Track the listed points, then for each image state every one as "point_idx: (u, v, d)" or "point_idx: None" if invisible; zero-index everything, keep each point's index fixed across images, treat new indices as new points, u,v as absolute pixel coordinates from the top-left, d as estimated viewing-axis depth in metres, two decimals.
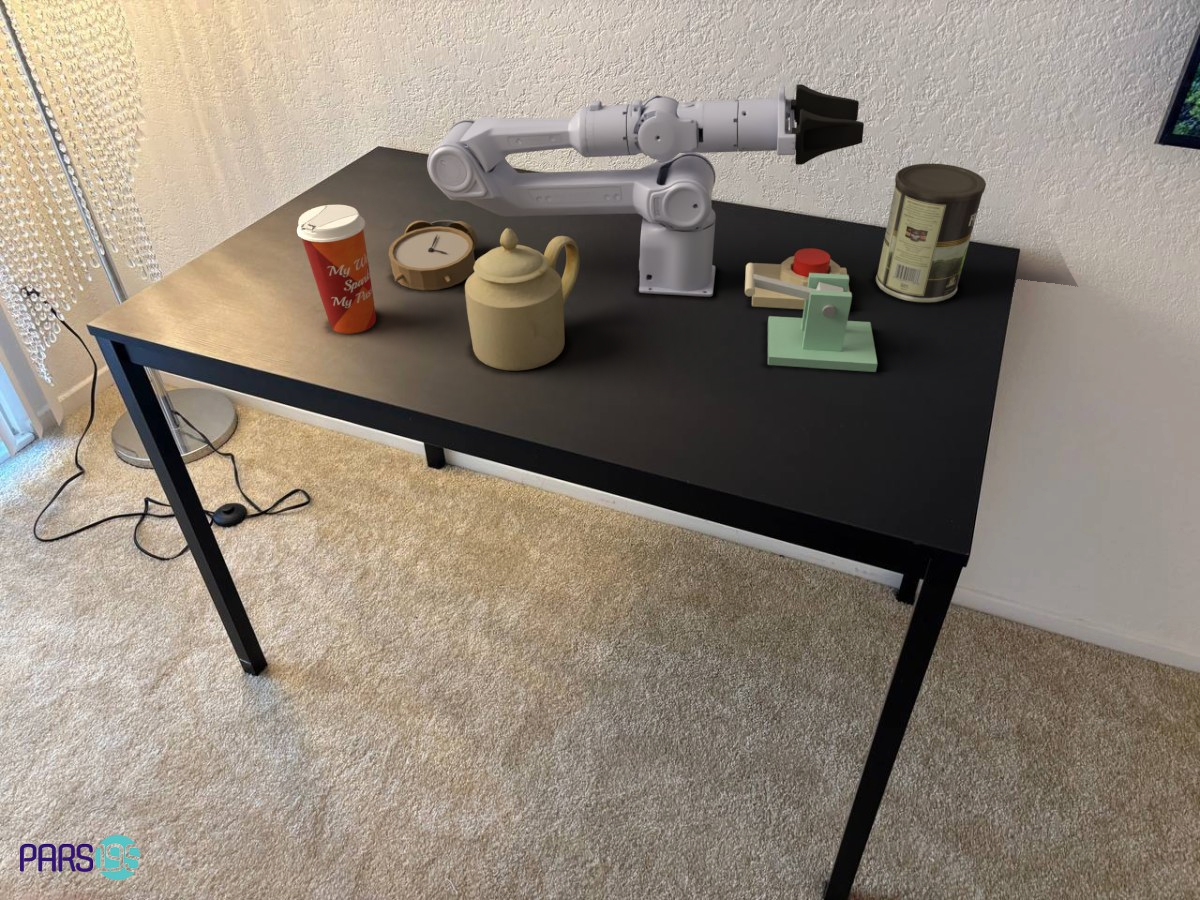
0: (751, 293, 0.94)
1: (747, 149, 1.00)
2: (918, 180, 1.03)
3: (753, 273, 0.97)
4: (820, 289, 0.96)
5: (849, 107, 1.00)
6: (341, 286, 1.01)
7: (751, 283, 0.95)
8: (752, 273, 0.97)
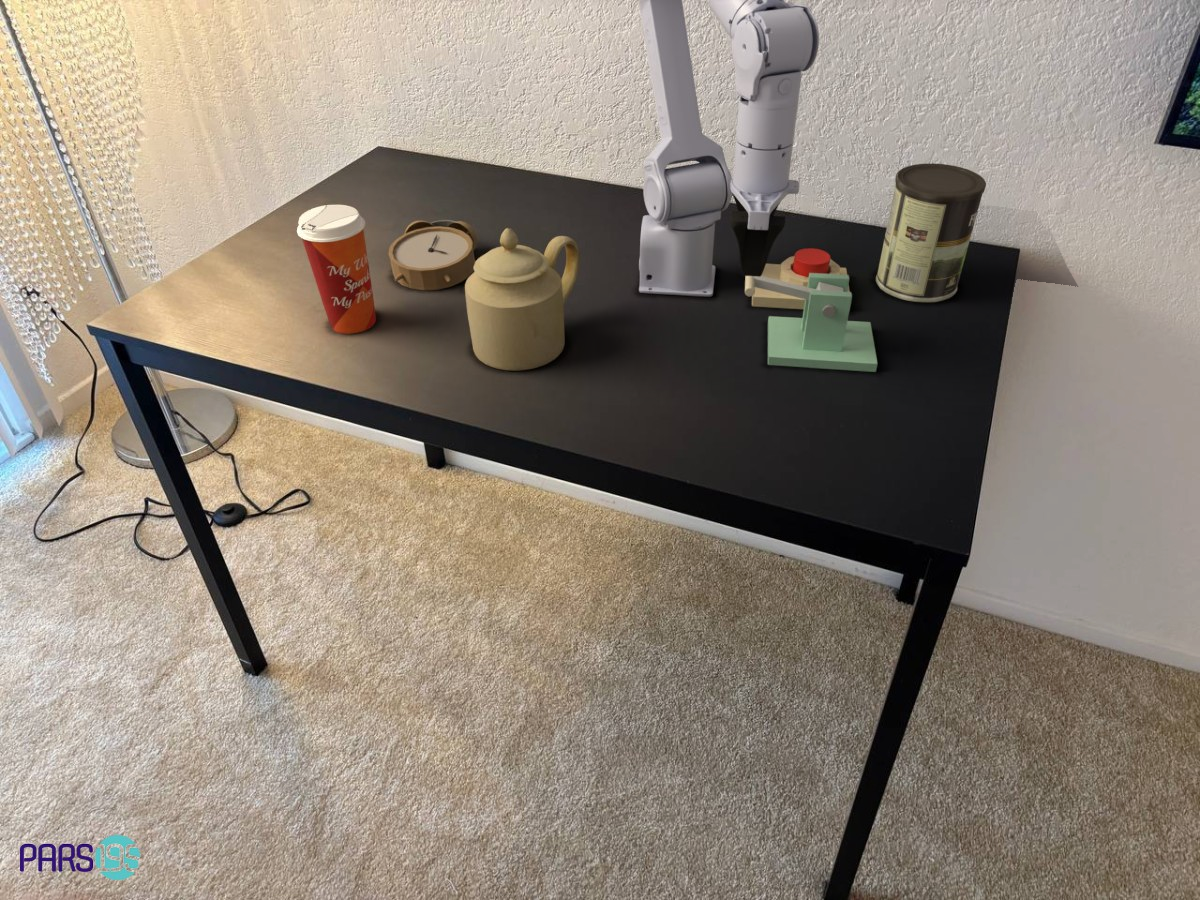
0: (751, 293, 0.94)
1: (741, 156, 0.86)
2: (918, 180, 1.03)
3: None
4: (820, 289, 0.96)
5: None
6: (341, 286, 1.01)
7: (751, 283, 0.95)
8: None
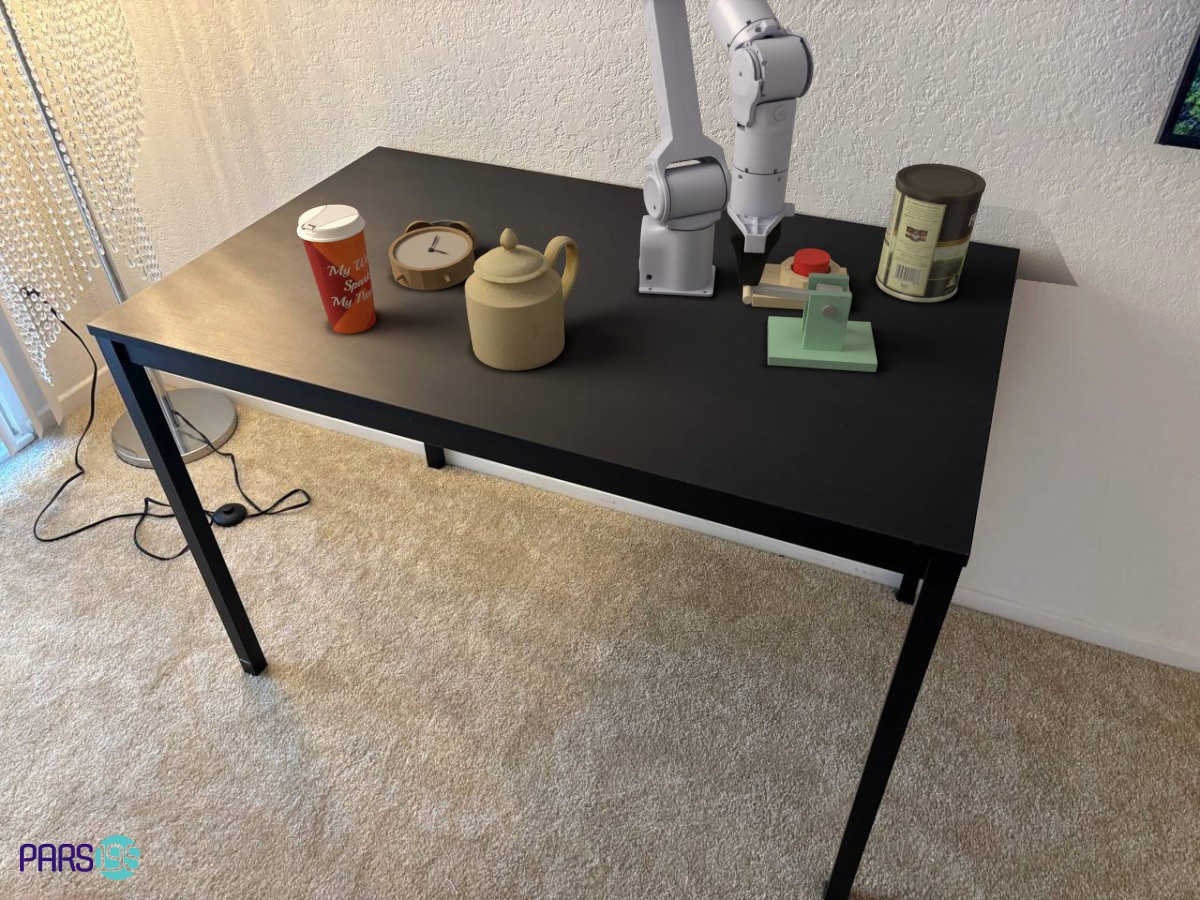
0: (749, 300, 0.95)
1: (738, 180, 0.88)
2: (918, 180, 1.03)
3: None
4: None
5: None
6: (341, 286, 1.01)
7: (748, 291, 0.96)
8: None
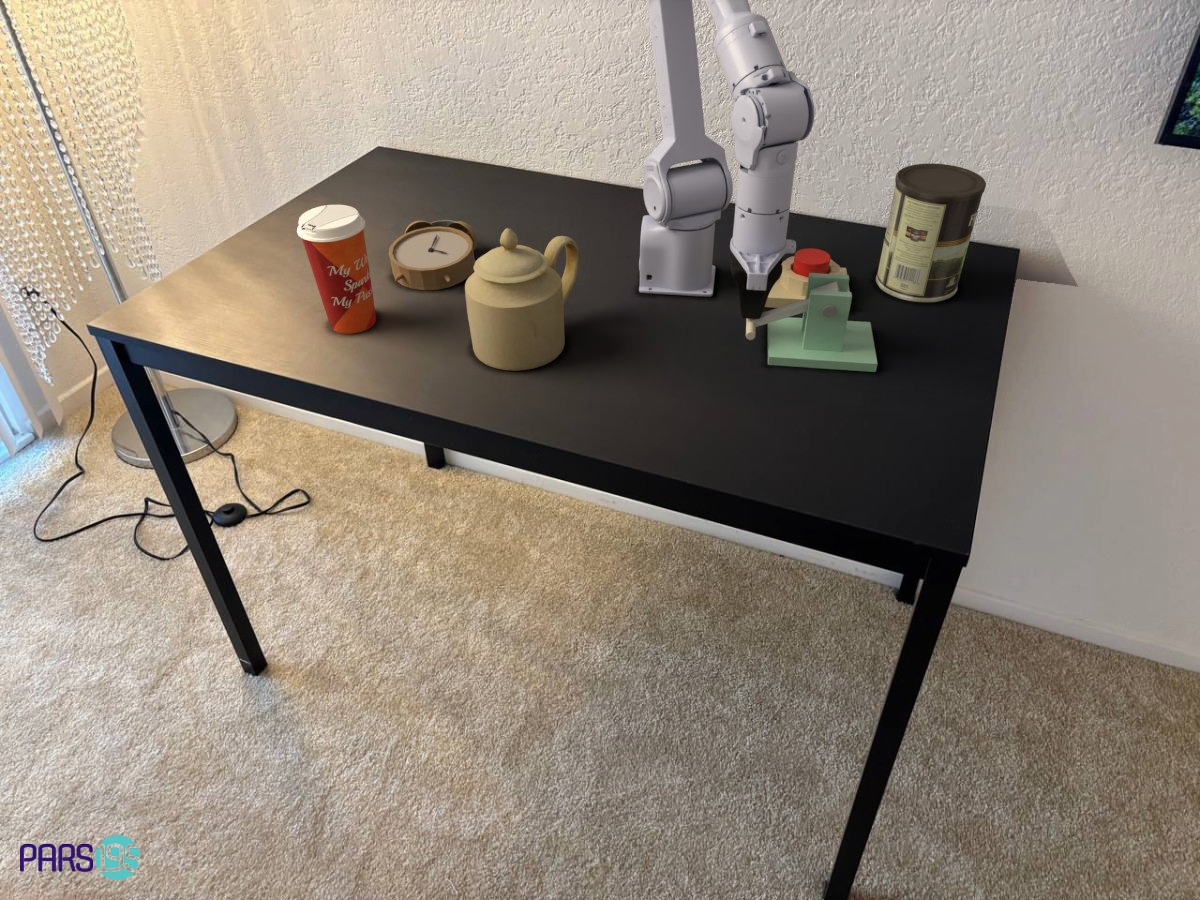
0: (752, 336, 0.98)
1: (741, 219, 0.90)
2: (918, 180, 1.03)
3: None
4: None
5: None
6: (341, 286, 1.01)
7: (749, 327, 0.98)
8: None
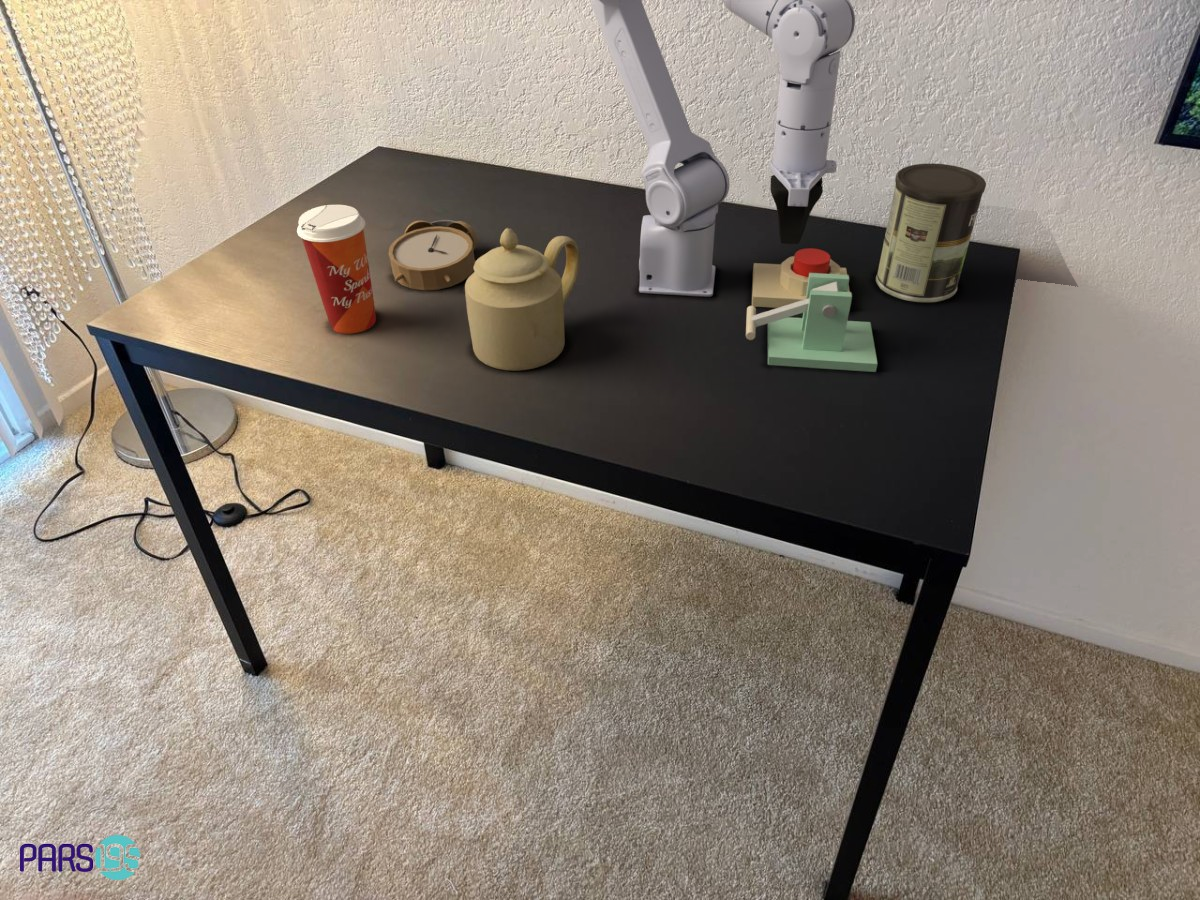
0: (752, 336, 0.98)
1: (781, 137, 0.90)
2: (918, 180, 1.03)
3: (751, 315, 1.00)
4: None
5: None
6: (341, 286, 1.01)
7: (749, 327, 0.98)
8: (750, 316, 1.00)
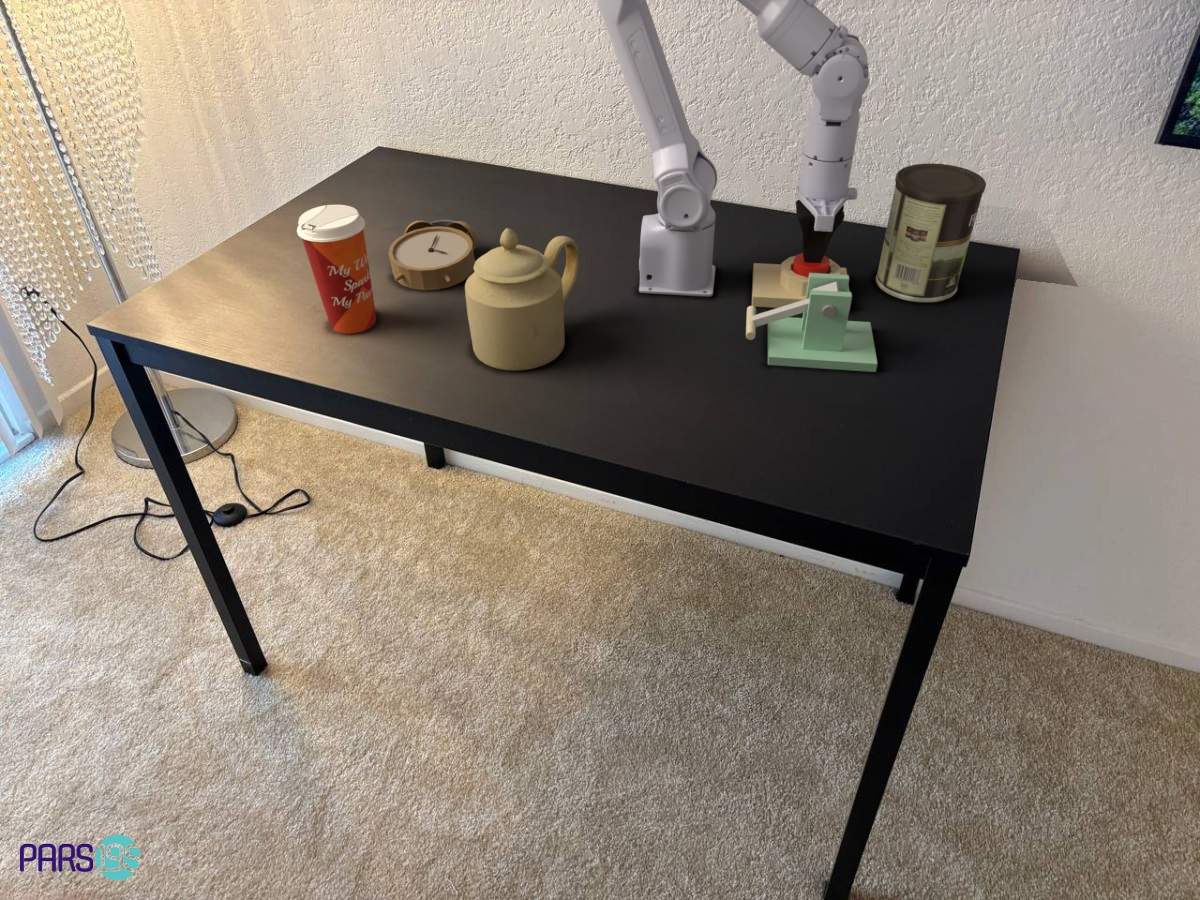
0: (752, 336, 0.98)
1: (808, 167, 0.99)
2: (918, 180, 1.03)
3: (751, 315, 1.00)
4: None
5: None
6: (341, 286, 1.01)
7: (749, 327, 0.98)
8: (750, 316, 1.00)
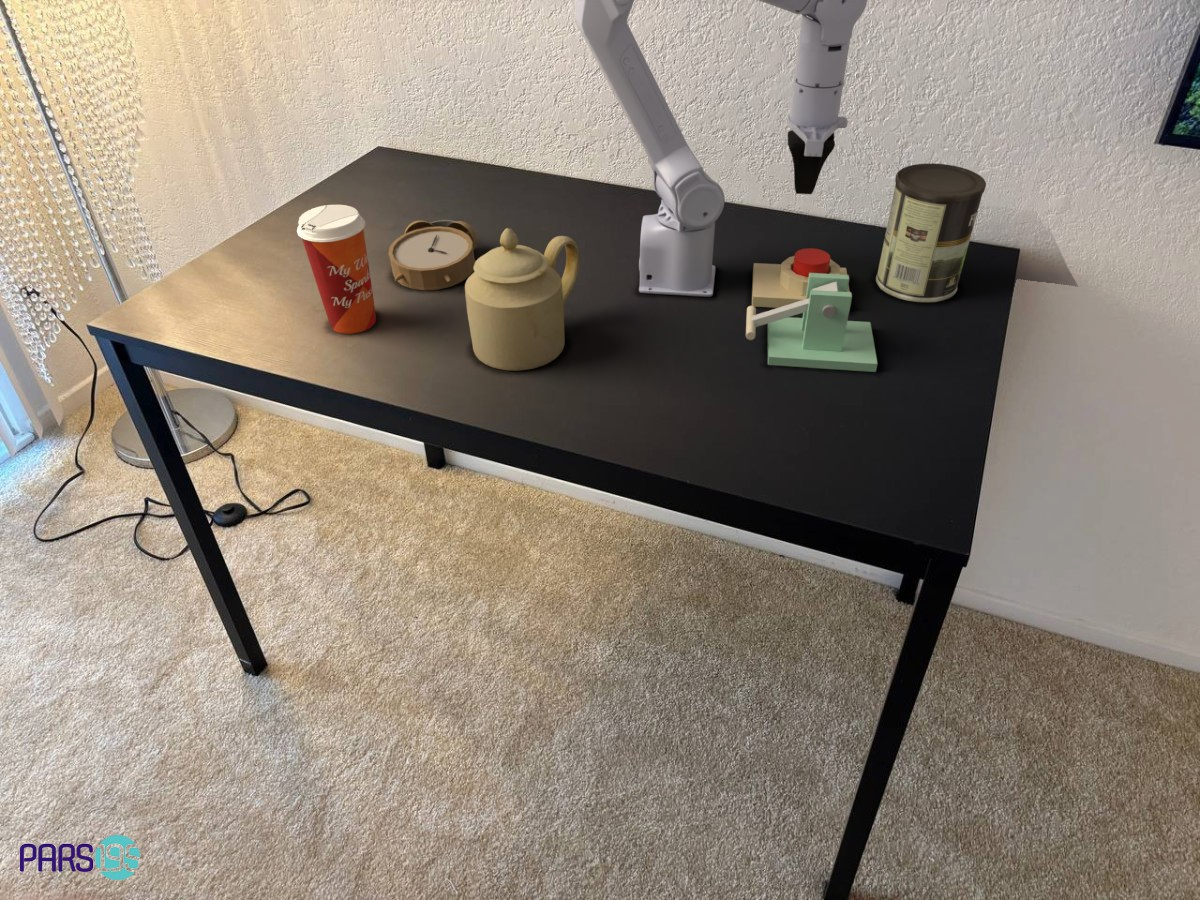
0: (752, 336, 0.98)
1: (799, 94, 1.01)
2: (918, 180, 1.03)
3: (751, 315, 1.00)
4: None
5: None
6: (341, 286, 1.01)
7: (749, 327, 0.98)
8: (750, 316, 1.00)
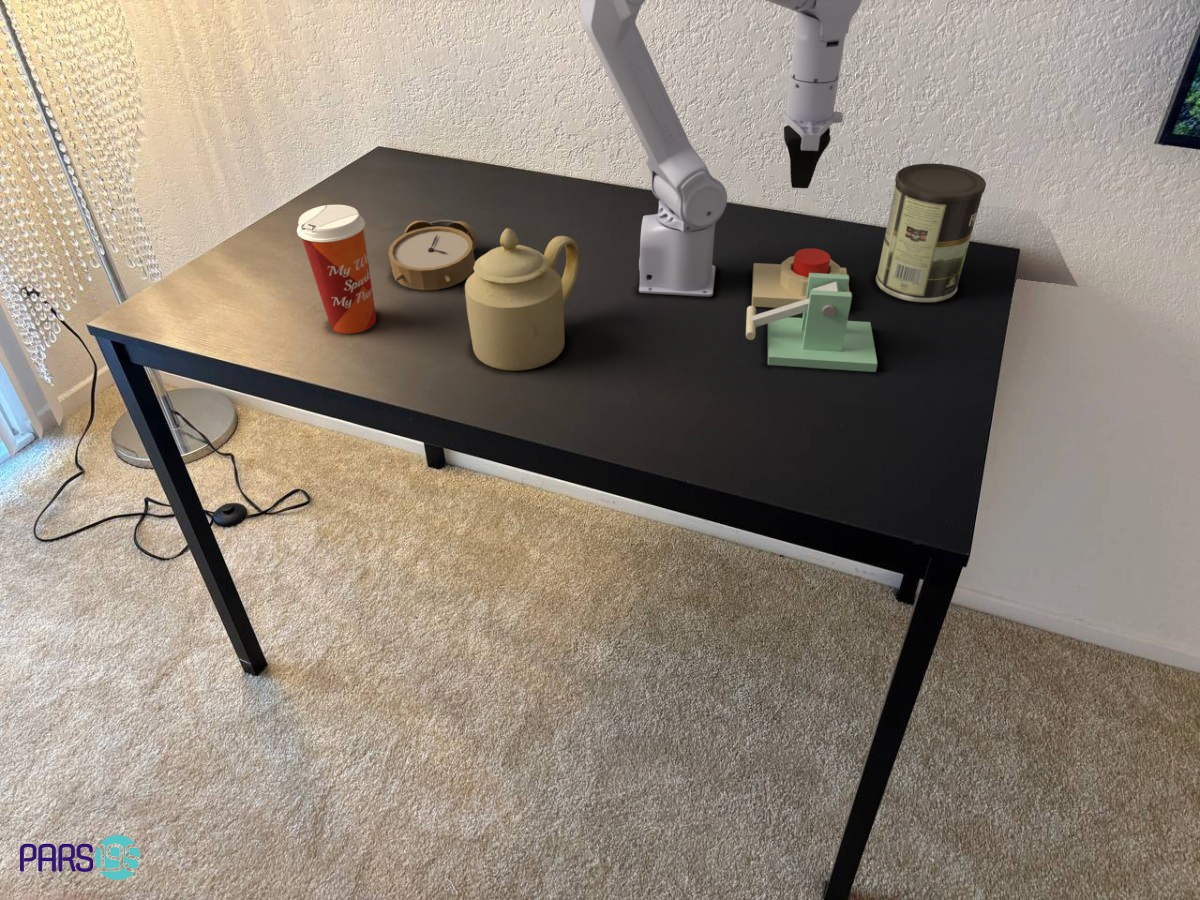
0: (752, 336, 0.98)
1: (795, 89, 1.02)
2: (918, 180, 1.03)
3: (751, 315, 1.00)
4: None
5: None
6: (341, 286, 1.01)
7: (749, 327, 0.98)
8: (750, 316, 1.00)
